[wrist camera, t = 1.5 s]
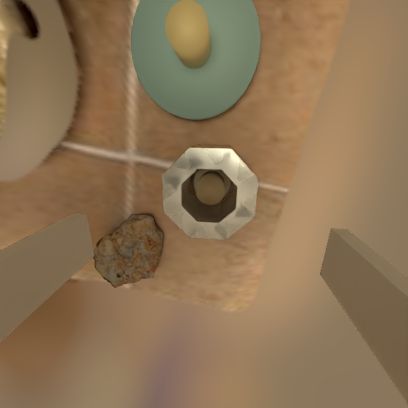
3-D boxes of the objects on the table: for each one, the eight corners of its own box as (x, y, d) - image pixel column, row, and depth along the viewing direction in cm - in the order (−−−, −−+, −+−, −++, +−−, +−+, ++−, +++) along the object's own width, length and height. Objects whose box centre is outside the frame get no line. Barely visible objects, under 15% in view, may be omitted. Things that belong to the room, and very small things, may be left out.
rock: (133, 282, 31) (182, 262, 27) (101, 307, 26) (155, 287, 22) (106, 232, 31) (150, 204, 27) (69, 247, 26) (116, 215, 22)
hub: (143, 119, 23) (117, 114, 18) (134, -19, 19) (96, -82, 14) (251, 120, 22) (260, 116, 17) (263, -24, 18) (281, -95, 13)
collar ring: (177, 214, 27) (164, 236, 21) (175, 143, 24) (160, 146, 18) (246, 218, 26) (252, 241, 20) (252, 145, 23) (262, 149, 17)
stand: (194, 198, 26) (189, 210, 22) (194, 163, 24) (188, 169, 20) (229, 200, 25) (230, 212, 22) (231, 164, 24) (233, 170, 20)
